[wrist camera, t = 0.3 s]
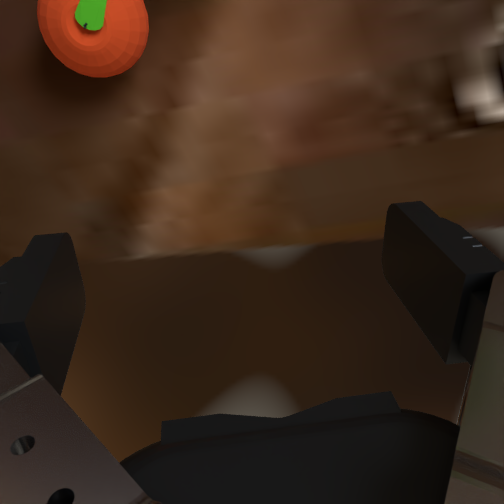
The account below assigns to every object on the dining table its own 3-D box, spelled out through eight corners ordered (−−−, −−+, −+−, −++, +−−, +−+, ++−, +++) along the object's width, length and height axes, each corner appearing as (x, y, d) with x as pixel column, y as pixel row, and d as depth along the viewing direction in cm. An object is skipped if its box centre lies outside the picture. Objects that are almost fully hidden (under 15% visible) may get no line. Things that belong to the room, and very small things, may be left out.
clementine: (69, -75, 31) (42, -91, 25) (169, -24, 33) (168, -28, 27) (40, 45, 34) (10, 57, 28) (134, 85, 36) (125, 104, 30)
